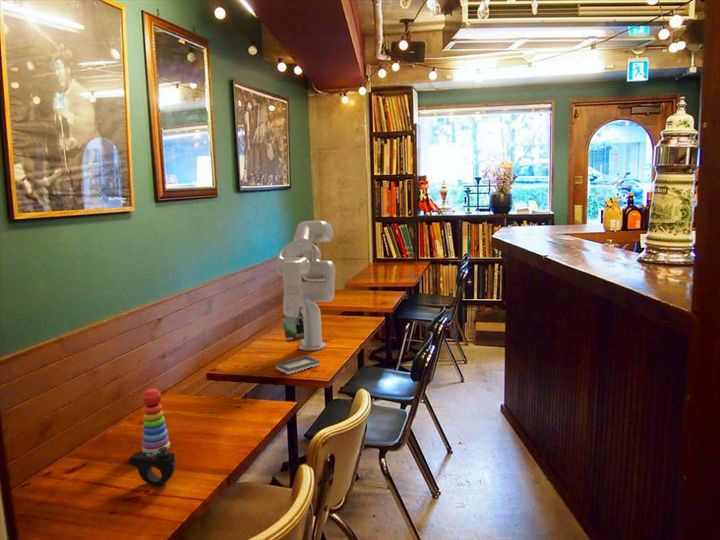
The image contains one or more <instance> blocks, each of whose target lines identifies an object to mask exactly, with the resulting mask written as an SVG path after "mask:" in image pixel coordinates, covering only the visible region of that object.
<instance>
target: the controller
mask: <svg viewBox="0 0 720 540" xmlns="http://www.w3.org/2000/svg"><path fill="white" fill-rule="evenodd" d="M159 451H160V453H143V452H139V451H137V452H134V453H133V454H132V455H131V456H130V457H129V459H128V465H130V466H133V467H135V468H136V469H137V470H138V471H137V473H138V474H139V476H140V478H141V479H142V480H143V481H144V482H145V483H146V484H148V485H150V486H161V485H164V484H165V483H167V482H168V481H169V480H170V479H171V478H172V476H173V475H174V472H175V469H176V467H177V466H176V458H175V457H176V453H174V452H168V449H167V447H161V448H160V449H159ZM152 468H155V469H158V470H159V471H160V474H161V476H157V475H156V474H155V473H154V472H153V469H152Z"/></svg>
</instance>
